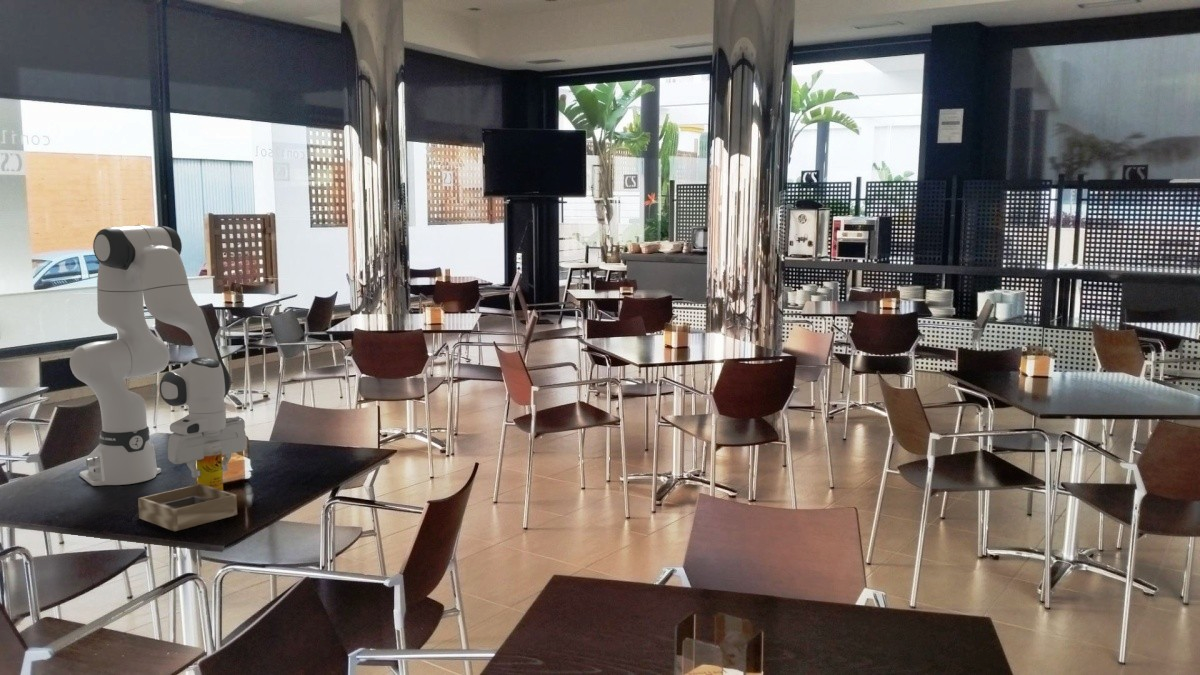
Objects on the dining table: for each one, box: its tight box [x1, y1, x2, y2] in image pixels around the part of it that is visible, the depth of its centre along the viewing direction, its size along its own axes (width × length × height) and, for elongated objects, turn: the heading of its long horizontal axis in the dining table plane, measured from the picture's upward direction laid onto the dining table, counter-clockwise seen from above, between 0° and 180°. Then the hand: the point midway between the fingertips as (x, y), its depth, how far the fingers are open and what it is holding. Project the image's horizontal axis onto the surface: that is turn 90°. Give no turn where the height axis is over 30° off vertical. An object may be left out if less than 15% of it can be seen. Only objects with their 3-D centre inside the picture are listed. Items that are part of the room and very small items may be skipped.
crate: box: [137, 484, 238, 532], centre depth 229 cm, size 16×16×5 cm
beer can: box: [196, 440, 224, 491], centre depth 244 cm, size 6×6×15 cm
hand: (209, 474), depth 244 cm, fingers closed on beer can, 6 cm apart
